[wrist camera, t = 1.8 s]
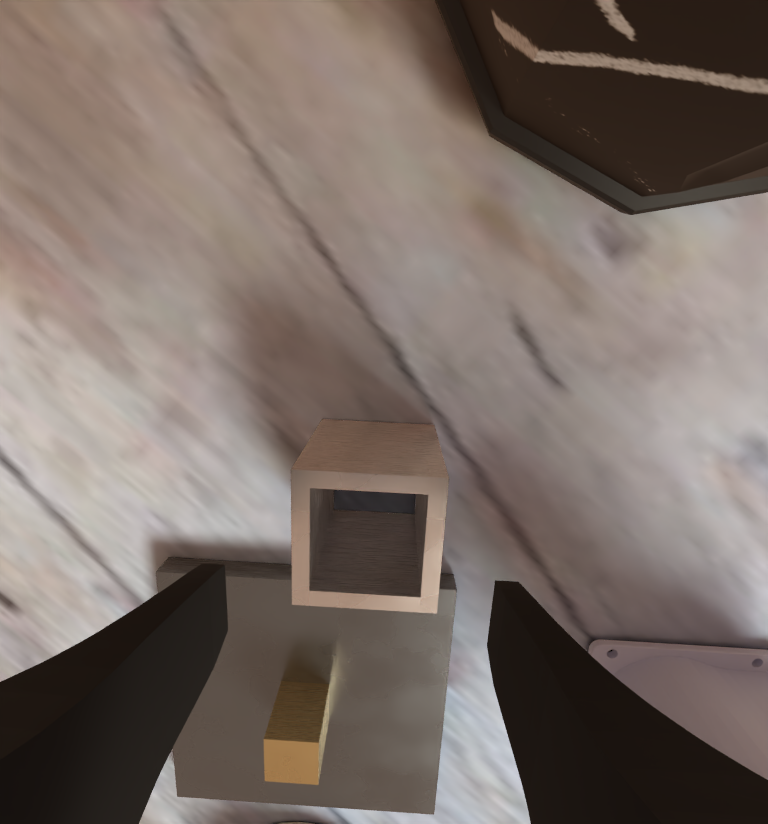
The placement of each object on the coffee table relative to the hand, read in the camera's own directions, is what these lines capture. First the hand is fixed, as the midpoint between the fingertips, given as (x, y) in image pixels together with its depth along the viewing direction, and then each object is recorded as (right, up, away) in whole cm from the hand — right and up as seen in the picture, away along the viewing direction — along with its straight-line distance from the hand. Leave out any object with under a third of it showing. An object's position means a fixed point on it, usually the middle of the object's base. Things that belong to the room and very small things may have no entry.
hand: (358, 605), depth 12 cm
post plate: (-3, -9, +12) cm, 15 cm away
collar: (0, +2, +9) cm, 9 cm away
